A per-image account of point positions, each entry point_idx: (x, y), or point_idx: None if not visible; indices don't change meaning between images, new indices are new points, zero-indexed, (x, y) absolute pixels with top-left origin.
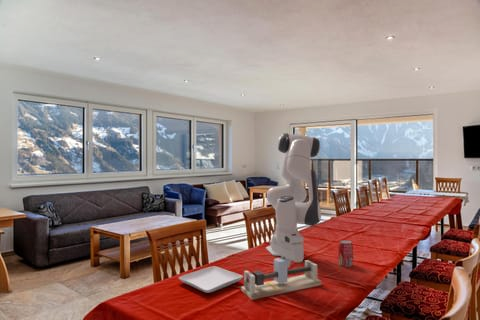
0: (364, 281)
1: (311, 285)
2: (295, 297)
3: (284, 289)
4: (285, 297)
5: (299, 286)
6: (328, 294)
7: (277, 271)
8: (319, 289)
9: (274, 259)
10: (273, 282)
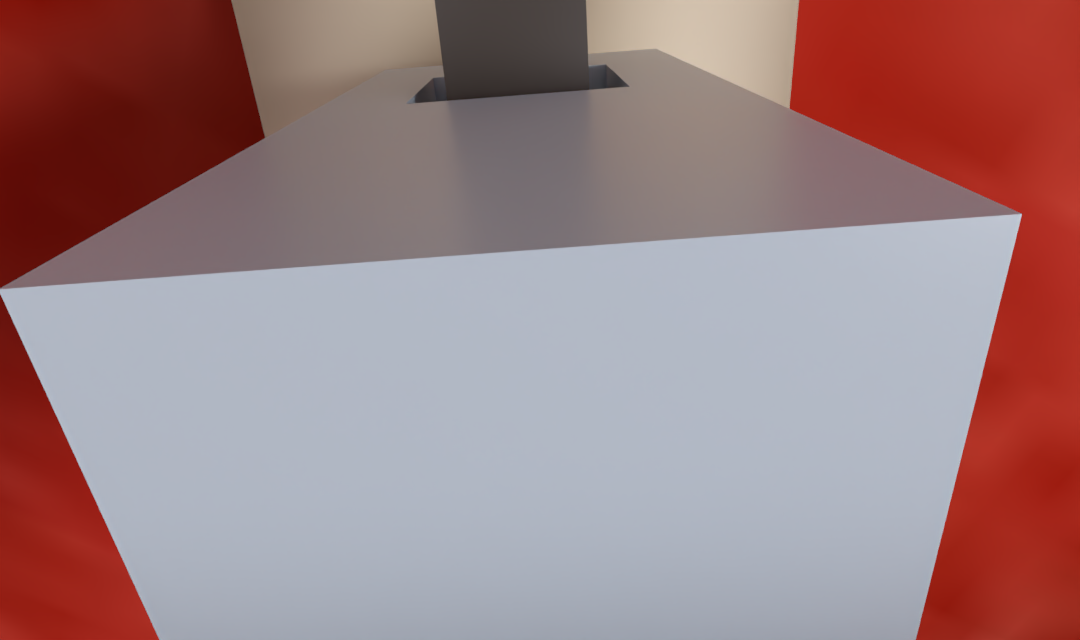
0: None
1: None
2: (51, 198)
3: (263, 115)
4: (66, 15)
5: None
6: (112, 634)
7: (437, 105)
8: None
9: (883, 222)
10: (683, 48)
